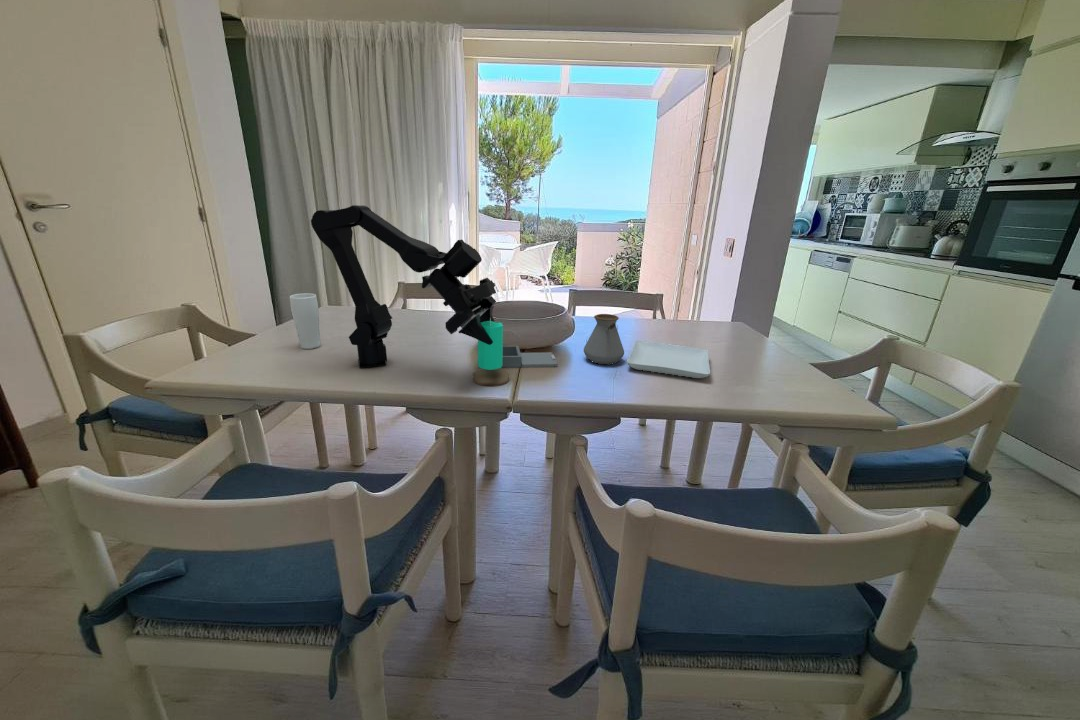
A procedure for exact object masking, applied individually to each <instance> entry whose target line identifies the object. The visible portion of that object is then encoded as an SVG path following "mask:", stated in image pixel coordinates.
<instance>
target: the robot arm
mask: <svg viewBox="0 0 1080 720" xmlns="http://www.w3.org/2000/svg"><path fill="white" fill-rule="evenodd" d="M310 223H311V227H312V229H313V230H314V232H315V234H316V236H317V238H318V239H319V241H320V242H321V243H323V245H325V246H326V247H327V248H328V249H329V250H330V251H331V253H332V255H333V258H334V261H335V262H336V265H337V267H338V269H339V272H340V274H341V276H342V279H343V281H344V283H345V285H346V287H347V289H348V290H347V291H348V292H349V295H350V297H351V299H352V302H353V304H354V306H355V308H354V309H355V310H354V322H355V326H356V328H355V329H354V331H352V332H351V334H350V335H349V336H348V339H349V342H350V343H351V345H352V346H356V349H357V356H358V359H357V362H358V367H359V369H366V368H376V367H384V366H387V362H388V357H387V356H388V355H387V347H386V344H385V343H384V340H383V339H386V338H387V337H388V333H389V332H390V331H391V329H392V326H393V322H392V319H393V316H392V315H391V313H390V311H389V308H388V306H387V304H386V303H384V304H380V303H379V302H378V301H377V300H376V299H375V297H374V294H373V292H372V290H371V288H370V285H369V282H368V280H367V278H366V275H365V273H364V270H363V268H362V265H361V264H360V262H359V258H358V257H357V255H356V252H355V250H354V247H353V243H352V242H353V234H354V233H353V232H354V231H353V228H355V227H358V226H359V227H360V228H362V229H363V230H365V231H366V232H368V233H369V234H371V236H374V237H375V238H377V239H378V240H379V241H380V242H382V243H384V244H385V245H387V246H388V247H390V248H391V249H393V250H394V251H395V252H396V253H397V254H398V255H399V257H400V259H401V260H402V262H403V263H404V264H406V266H408V267H409V268H410V269H411V270H412V271H413V272H415V273H418V274H419V273H424V272H428V271H431V272H430V274H429V275H427V274H426V275H424V276H423V275H422V277H421V279H422V283H421V289H427V288H430V287H432V288H434V290H435V291H436V292H437V293H438V294H439V296H441V298H442V299H443V303H442V304H443V305H444V307H448V306H449V308H451V310H452V311H454V314H453V315H452V316H451V317H450V318H448V319H447V320H446V321H445V329H446V331H447V332H448V333H449V334H450V335H453V334H454V333H456V332H458V333H459V334H463V335H465V336H468V337H471V338H473V339H475V340H477V341H478V340H480V341H482V342H484V343H486V344H488V345H491V344H492V343H493V341H492V339H491V338H490V337H489V335H488V334H487V332H486V330H485V329H484V328H483V326H482V325H481V322H484V321H490V318H491V321H493V322H496V321H495V319H494V316H493V311H494V307H495V306H494V305H495V304H496V303H497V300H496V299H495V298H494V297H493V295H494V294H497V291H496V289H495V286H496V283H495V282H493V280H491V279H489V278H488V277H486V278H483V279H480V280H479V284H478V285H477V286H473V287H471V285H470V284H463V283H462V282H461V281H460V279H459V278H462V279H463V278H466V277H467V276H468V275H469V274H470V273H471V272H472V271H473V270H474V269H475V268H476V267H477V266H478V265H479V264H480V263H481V262H482V261H483V260H482V256H481V254H480V253H479V251H478V250H477V249H476V248H474V247H473V246H471V245H470V244H468V243H466V242H465V241H464V240H463V239H458V240H456V241H455V243H454V244H453V246H452V247H451V248H450V249H449V250H448V251H447V252H443V251H440V250H439V249H438V248H437V247H436V246H434V245H432V244H430V243H427V242H425V241H423V240H420V239H418V238H417V239H416V238H414V237H412V236H409V235H407V234H406V233H405V232H403V231H402V230H401V229H399V228H397V227H396V226H394V225H393V224H391V222H389V221H387V220H386V219H384V218H383V217H381V216H380V215H378V214H377V213H376V212H374V211H372V209H370V207H368V206H367V205H360V204H359V205H356V204H355V205H354V204H353V205H351V206H347V207H345V208H341V209H325V210H324V209H320V210H317V211H315V212H314V213H313V214H312V216H311V219H310ZM440 265H442V266H441V267H440V268H438V267H439V266H440ZM460 328H461V329H460ZM458 329H459V331H458Z"/></svg>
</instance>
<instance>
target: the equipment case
mask: <svg viewBox="0 0 1080 720" xmlns="http://www.w3.org/2000/svg"><path fill="white" fill-rule="evenodd" d="M554 366H555V367H556V366H557V367H558V366H559V365H558V362H557V360H556V357H555V355H554V354H553V352H551V351H549V352H521V350H520V347H519V345H503V365H502V367H501V368H500V369H503V368H554ZM557 367H556V368H557Z"/></svg>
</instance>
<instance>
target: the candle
mask: <svg viewBox="0 0 1080 720" xmlns="http://www.w3.org/2000/svg"><path fill="white" fill-rule="evenodd" d="M481 325H482V326H483V328H484V329H485V330H486V332H487V334H488V335H489V337H490V338H491V339H492V341H493V343H492V344H491V345H488V344H486V343H484V342H482V341H480V340H477V366H478V367H479V368H480V369H487V370H494V369H502V368H501V367H502V365H503V346H504V325H503V323H502V322H496V321H495V322H493V321H491V318H490V321H484V322H481Z"/></svg>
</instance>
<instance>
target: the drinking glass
mask: <svg viewBox="0 0 1080 720" xmlns="http://www.w3.org/2000/svg"><path fill="white" fill-rule="evenodd" d="M289 304H290V305H289V306H290V310H291V314H292V317H293V322H294V326H295V330H296V333H297V338H298V342H299V346H300V348H301V349H304V350H313V348H314V349H318V348H319V347H320V346H321V345H322V344H321V333H320V332H321V331H320V315H319V314H320V313H319V311H320V310H319V303H318V298H317V294H316V293H304V292H303V293H294V294H292V295H289Z"/></svg>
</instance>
